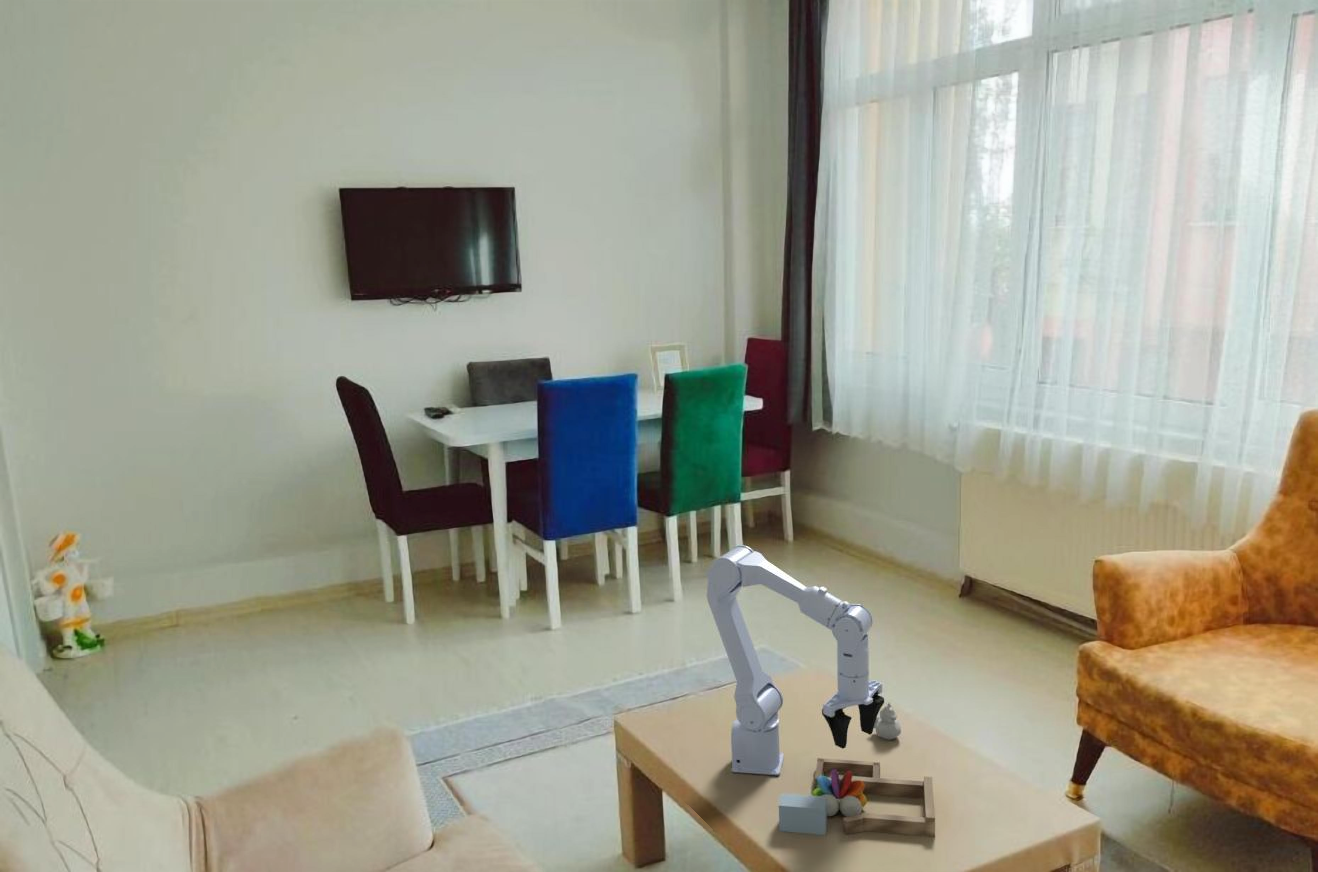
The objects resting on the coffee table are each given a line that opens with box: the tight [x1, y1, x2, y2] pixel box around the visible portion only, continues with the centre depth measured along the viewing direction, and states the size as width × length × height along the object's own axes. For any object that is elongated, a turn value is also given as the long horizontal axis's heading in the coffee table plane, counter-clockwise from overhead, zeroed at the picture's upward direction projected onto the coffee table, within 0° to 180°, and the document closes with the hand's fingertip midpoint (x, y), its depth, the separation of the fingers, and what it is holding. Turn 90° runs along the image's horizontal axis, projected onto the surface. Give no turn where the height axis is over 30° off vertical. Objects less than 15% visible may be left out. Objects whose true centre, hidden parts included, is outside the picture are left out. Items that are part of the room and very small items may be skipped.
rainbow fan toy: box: [812, 769, 868, 817], centre depth 176 cm, size 8×10×7 cm
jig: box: [814, 757, 936, 838], centre depth 177 cm, size 22×22×4 cm
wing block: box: [778, 792, 828, 836], centre depth 171 cm, size 8×4×5 cm, turn 76°
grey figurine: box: [874, 702, 902, 741], centre depth 200 cm, size 5×7×8 cm
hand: (853, 739), depth 181 cm, fingers open, 7 cm apart
